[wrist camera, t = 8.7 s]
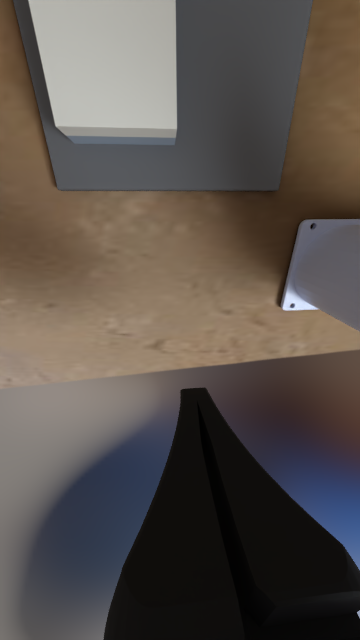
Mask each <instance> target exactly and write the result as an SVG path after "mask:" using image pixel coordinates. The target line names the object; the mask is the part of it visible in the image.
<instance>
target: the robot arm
mask: <svg viewBox="0 0 360 640" xmlns="http://www.w3.org/2000/svg"><path fill="white" fill-rule="evenodd" d="M312 223H313V228H312V229H310V226H311V224H312ZM292 303H293V304H292ZM291 304H292V306H290V305H291ZM281 308H282V309H283V310H311V309H320V310H321V311H323V312H325V313H327V314H329V315H331V316H332V317H334V318H336V319H338V320H340V321H342V322H343V323H345V324H347V325H349V326H351V327H353V328H354V329H356V330H358V331H360V219H313V220H304V221H302V222H301V223H300V225H299V229H298V233H297V237H296V242H295V246H294V250H293V254H292V259H291V263H290V267H289V271H288V276H287V280H286V284H285V288H284V293H283V297H282V301H281ZM359 610H360V570H359V569H358V567H357V566H356V564H355V563H354V561H353V559H352V558H351V556H350V555H349V553H348V552H347V550H346V549H345V547H344V546H343V545H342V544H341V543H340V542H339V541H338V540H337V539H336V538H334V537H333V536H332V535H331V534H330V533H329V532H328V531H327V530H326V529H324V528H323V527H322V526H321V525H320V524H319V523H318V522H317V521H316V520H314V519H313V518H312V517H311V516H310V515H309V514H308V513H307V512H306V511H305V510H304V509H303V508H302V507H300V505H298V504H297V503H296V502H295V501H294V500H293V499H292V498H291V497H290V496H289V495H288V494H287V493H286V492H285V491H284V490H283V489H282V488H281V487H280V485H278V483H277V482H276V481H275V480H274V479H273V478H272V477H271V476H270V475H269V474H268V473H267V472H266V471H265V470H264V469H263V468H262V466H261V465H260V464H259V463H258V462H257V461H256V460H255V458H254V457H253V456H252V455H251V454H250V453H249V451H248V450H247V449H246V448H245V446H244V445H243V444H242V443H241V442H240V440H239V439H238V438H237V436H236V435H235V433H234V432H233V431H232V429H231V428H230V426H229V425H228V424H227V422H226V421H225V419H224V418H223V416H222V415H221V413H220V412H219V410H218V408H217V407H216V405H215V403H214V402H213V400H212V398H211V396H210V394H209V393H208V391H207V389H206V388H190V389H182V390H181V404H180V411H179V417H178V422H177V427H176V431H175V435H174V439H173V443H172V446H171V450H170V453H169V456H168V459H167V463H166V466H165V469H164V471H163V474H162V477H161V480H160V483H159V485H158V488H157V490H156V493H155V495H154V498H153V500H152V503H151V505H150V507H149V510H148V512H147V515H146V517H145V519H144V522H143V524H142V526H141V529H140V531H139V533H138V535H137V537H136V539H135V542H134V544H133V546H132V548H131V550H130V552H129V554H128V557H127V559H126V561H125V563H124V565H123V568H122V572H121V574H120V578H119V581H118V583H117V586H116V590H115V593H114V596H113V599H112V602H111V606H110V609H109V613H108V617H107V622H106V627H105V633H104V640H360V618H359V616H358V614H357V612H358V611H359Z"/></svg>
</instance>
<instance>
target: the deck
mask: <svg viewBox="0 0 360 640" xmlns="http://www.w3.org/2000/svg"><path fill="white" fill-rule="evenodd" d="M28 1H29V6H30V11H31V15H32V20H33V24H34V29H35V34H36V38H37V43H38V48H39V52H40V57H41V61H42V66H43V71H44V75H45V80H46V85H47V89H48V94H49V98H50V103H51V108H52V112H53V117H54V122H55V126H56V127H57V128H58V129H59V130H60V131H61V132H62V133H64V134H65V135H66V136H67V137H68V138H69V139H70V140H71V141H72V142H73V143H75V144H134V145H175V140H176V132H177V83H176V0H28Z"/></svg>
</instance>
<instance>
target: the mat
mask: <svg viewBox="0 0 360 640" xmlns="http://www.w3.org/2000/svg"><path fill="white" fill-rule="evenodd" d="M13 2H14V7H15V11H16V15H17V19H18V23H19V28H20V32H21V36H22V40H23V44H24V49H25V53H26V57H27V61H28V66H29V70H30V74H31V78H32V82H33V87H34V91H35V95H36V99H37V103H38V108H39V112H40V116H41V120H42V125H43V129H44V133H45V137H46V141H47V146H48V150H49V154H50V158H51V162H52V167H53V171H54V175H55V179H56V184H57V188H58V190H61V191H277V190H279V186H280V180H281V174H282V169H283V163H284V158H285V152H286V147H287V141H288V136H289V130H290V124H291V119H292V113H293V108H294V102H295V97H296V91H297V86H298V80H299V74H300V69H301V63H302V58H303V52H304V47H305V41H306V36H307V30H308V24H309V19H310V13H311V8H312V2H313V0H176V83H177V132H176V140H175V145H134V144H75V143H73V142H72V141H71V140H70V139H69V138H68V137H67V136H66V135H65V134H64V133H62V132H61V131H60V130H59V129H58V128H57V127H56V126H55V122H54V117H53V112H52V108H51V103H50V98H49V94H48V89H47V85H46V80H45V75H44V71H43V66H42V61H41V57H40V52H39V48H38V43H37V38H36V34H35V29H34V24H33V20H32V15H31V11H30V6H29V1H28V0H13Z"/></svg>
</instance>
